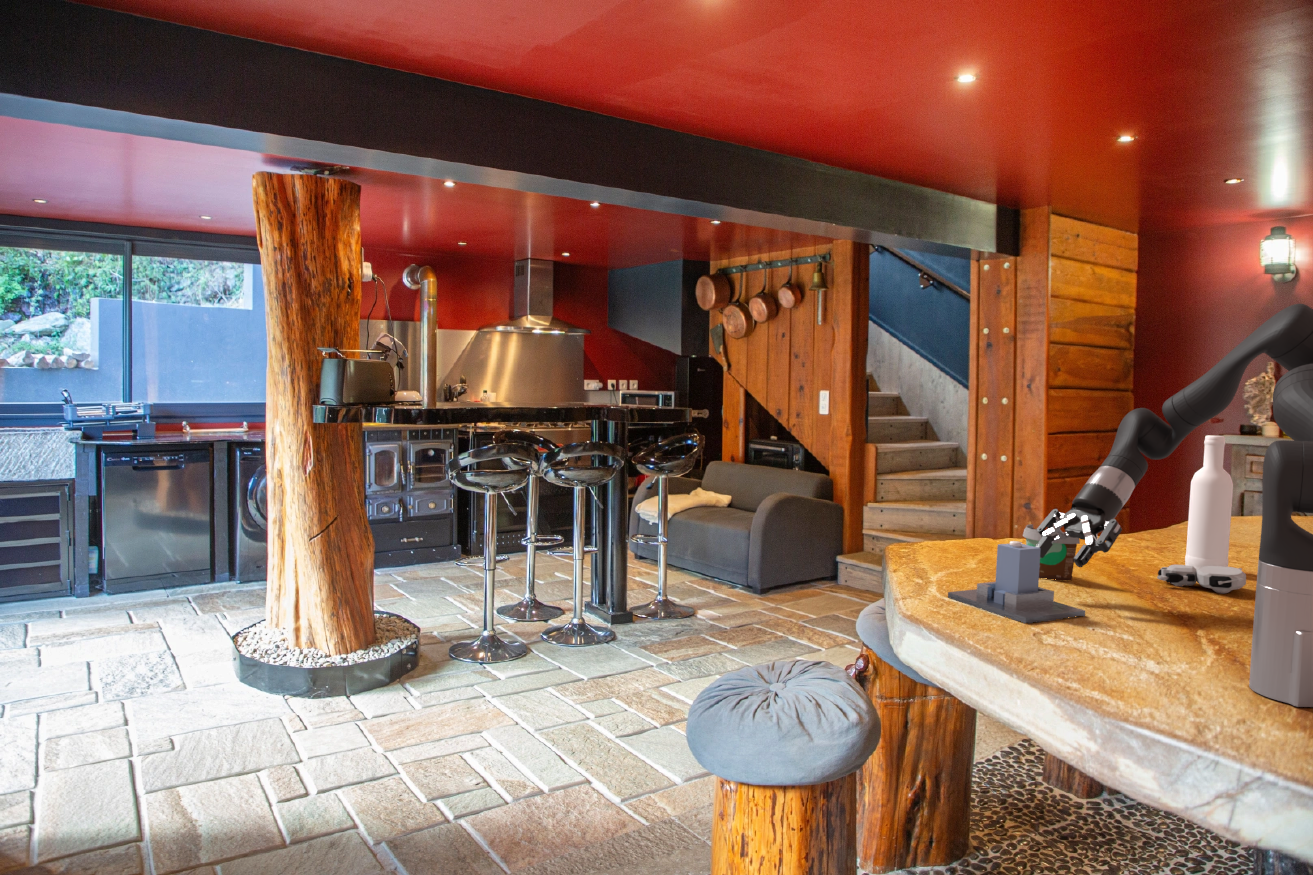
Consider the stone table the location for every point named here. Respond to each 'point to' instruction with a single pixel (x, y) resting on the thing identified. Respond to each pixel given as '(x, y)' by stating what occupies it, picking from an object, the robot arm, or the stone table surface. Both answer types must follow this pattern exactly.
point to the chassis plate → (1018, 604)
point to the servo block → (1016, 569)
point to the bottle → (1210, 509)
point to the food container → (1054, 555)
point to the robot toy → (1204, 577)
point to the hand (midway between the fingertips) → (1056, 559)
